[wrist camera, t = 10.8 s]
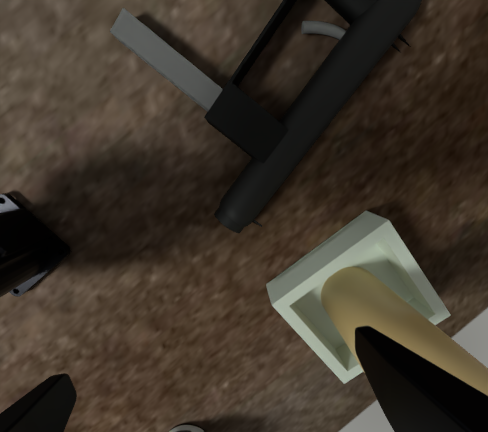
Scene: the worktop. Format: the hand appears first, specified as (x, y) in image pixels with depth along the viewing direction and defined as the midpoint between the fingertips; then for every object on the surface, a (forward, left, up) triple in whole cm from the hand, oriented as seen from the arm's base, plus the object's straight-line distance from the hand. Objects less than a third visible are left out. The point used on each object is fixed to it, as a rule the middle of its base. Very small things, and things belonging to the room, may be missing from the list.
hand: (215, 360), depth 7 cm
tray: (+5, -12, -13) cm, 18 cm away
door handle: (+9, +8, -14) cm, 18 cm away
